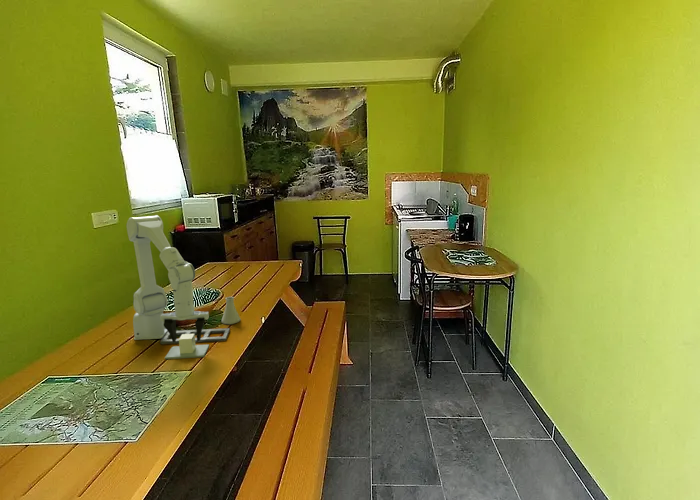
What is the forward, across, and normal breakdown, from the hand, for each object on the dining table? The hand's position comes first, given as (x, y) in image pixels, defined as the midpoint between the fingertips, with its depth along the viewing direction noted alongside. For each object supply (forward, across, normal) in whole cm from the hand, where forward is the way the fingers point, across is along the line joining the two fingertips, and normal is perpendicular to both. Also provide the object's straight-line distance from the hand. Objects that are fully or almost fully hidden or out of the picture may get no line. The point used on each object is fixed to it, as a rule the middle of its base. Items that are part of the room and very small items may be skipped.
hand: (186, 339), depth 124 cm
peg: (+4, 0, 0) cm, 4 cm away
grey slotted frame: (+4, 0, +12) cm, 13 cm away
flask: (+5, +10, +26) cm, 28 cm away
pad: (+4, 0, 0) cm, 4 cm away
